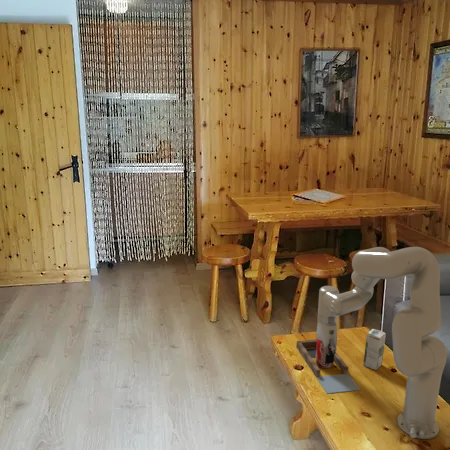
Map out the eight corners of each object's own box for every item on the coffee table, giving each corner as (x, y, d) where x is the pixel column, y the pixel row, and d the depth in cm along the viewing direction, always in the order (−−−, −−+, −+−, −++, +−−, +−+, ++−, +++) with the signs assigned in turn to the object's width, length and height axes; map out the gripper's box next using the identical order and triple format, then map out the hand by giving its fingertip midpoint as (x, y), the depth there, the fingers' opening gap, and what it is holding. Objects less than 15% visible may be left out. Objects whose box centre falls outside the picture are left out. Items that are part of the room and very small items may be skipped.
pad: (360, 390, 171) (360, 389, 171) (327, 393, 168) (327, 393, 168) (347, 374, 181) (347, 373, 181) (316, 377, 178) (316, 376, 178)
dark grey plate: (329, 355, 194) (329, 355, 194) (307, 358, 192) (307, 357, 192) (323, 347, 200) (323, 347, 200) (301, 349, 198) (301, 349, 198)
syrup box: (368, 359, 191) (371, 327, 187) (382, 364, 187) (386, 332, 184) (362, 365, 187) (366, 333, 183) (377, 370, 183) (380, 337, 179)
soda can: (313, 367, 185) (315, 340, 182) (316, 358, 191) (318, 332, 188) (331, 371, 183) (333, 343, 180) (334, 362, 189) (336, 335, 186)
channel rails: (347, 374, 181) (348, 367, 180) (316, 377, 178) (316, 370, 177) (324, 344, 202) (325, 338, 202) (296, 347, 200) (296, 341, 199)
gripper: (345, 326, 174) (342, 367, 179) (327, 307, 191) (325, 344, 195) (327, 328, 173) (324, 369, 177) (310, 308, 189) (308, 346, 194)
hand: (324, 356), depth 186 cm, fingers open, 9 cm apart
